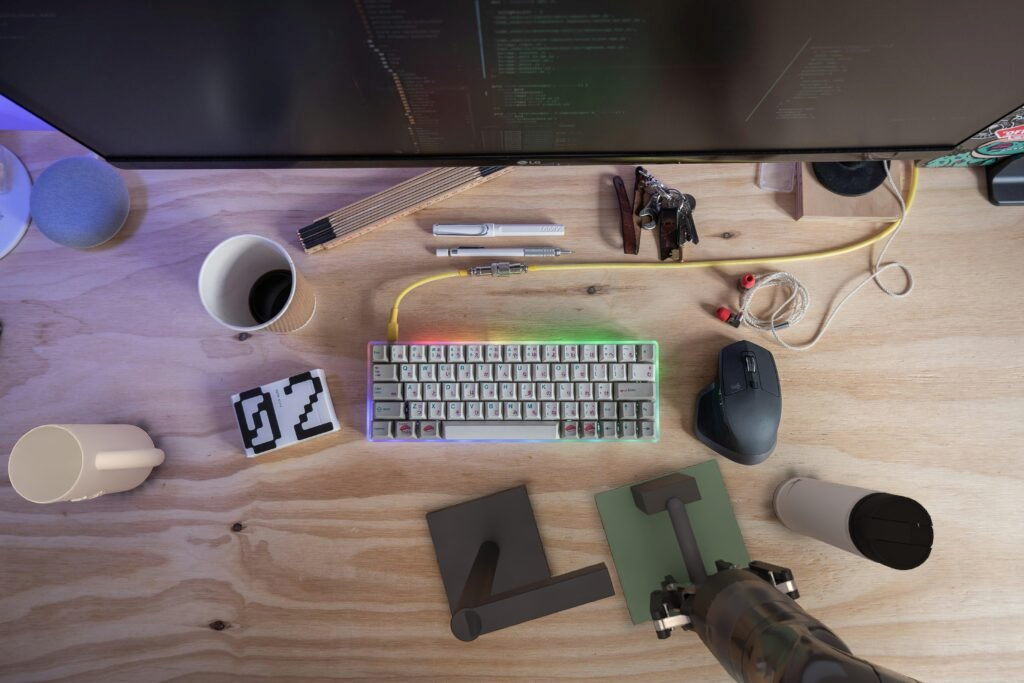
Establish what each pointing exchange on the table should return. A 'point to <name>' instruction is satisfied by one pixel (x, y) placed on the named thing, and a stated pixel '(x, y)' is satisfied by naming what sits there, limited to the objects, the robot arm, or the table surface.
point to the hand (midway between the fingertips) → (695, 577)
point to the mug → (81, 461)
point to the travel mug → (857, 520)
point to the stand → (503, 566)
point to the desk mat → (668, 537)
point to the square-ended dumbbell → (674, 515)
